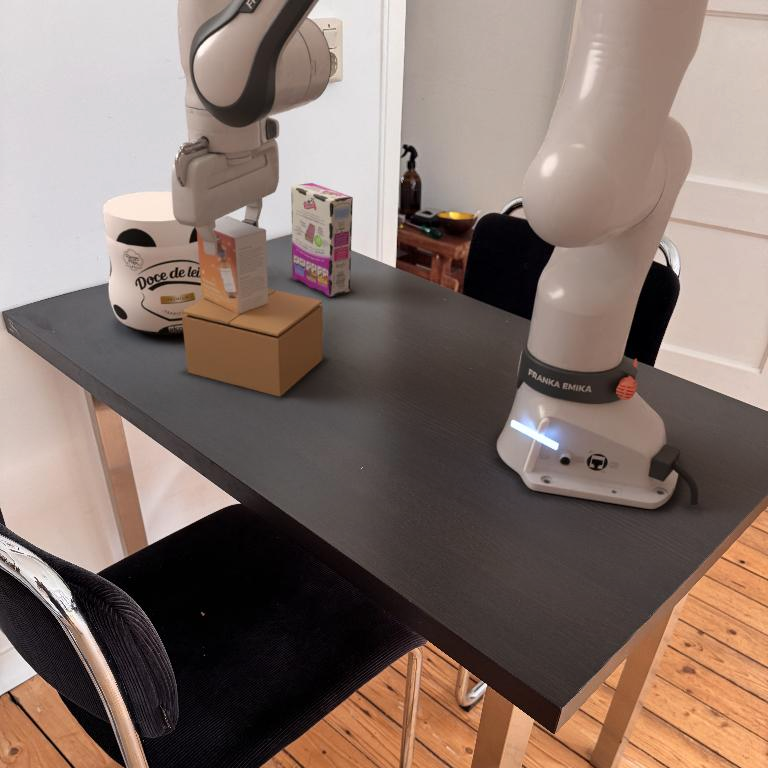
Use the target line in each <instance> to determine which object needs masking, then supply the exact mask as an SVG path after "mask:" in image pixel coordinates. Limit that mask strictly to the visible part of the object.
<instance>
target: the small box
mask: <svg viewBox="0 0 768 768" xmlns="http://www.w3.org/2000/svg"><path fill="white" fill-rule="evenodd" d="M215 224H216V228H214V229H213V230H214V233H215V235H216V238H218V239H221V247H222V250H221V252H219V253H218V254H216V255H209V254H206V253H205V252H204V246H203V240H202V238H201V237H200V235H199V233H198V232H197V239H198V252H199V265H200V278H201V291H202V297H203V298H206V299H208V300H210V301H213V302H215V303H217V304H219V305H221V306H223V307H225V308H227V309H229V310H231V311H233V312H235V313H237V314H241V313H244V312H246V311H249V310H252V309H255V308H258V307H261V306H263V305H266V304H268V289H269V288H268V284H269V283H268V252H267V251H268V249H267V247H268V246H267V230H266V229H265V228H262V227H259V228H258V227H255V226H253V225H250V224H247V223H244V222H242V220H239V219H236V218H234V217H232V216H230V215H225V216H223V217H221V218H219V219H217V220H215Z"/></svg>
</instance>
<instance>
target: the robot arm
mask: <svg viewBox="0 0 768 768" xmlns="http://www.w3.org/2000/svg"><path fill="white" fill-rule="evenodd" d="M319 1H320V0H178V1H177V37H178V38H177V39H178V48H179V49H178V51H179V60H180V65H181V68H182V70H183V71H182V72H183V74H184V78H185V84H186V85H185V87H186V88H185V96H184V109H185V118H186V127H187V138H188V141H187V142H183V143H182V144H181V145H179V150H178V151H177V153H176V155H175V156H174V162H173V164H172V167H171V168H172V169H171V192H172V206H173V215H174V217H175V219H176V220H177V222H178V223H179V224H182V225H187V226H192V227H196V230H197V232H198V233H199V235H200V237H201V238H202V240H203V246H204V252H205V253H206V254H209V255H216V254H218V253H219V252H221V250H222V247H221V239H218V238H216V235H215V233H214V230H213V229H214V228H216V224H215V220H217V219H219V218H221V217H224V216H228V215H230V214H231V213H234V212H236V211H238V210H240V209H243V208H244V207H245V213H244V219H242V220H241V221H242V222H244V223H247V224H250V225H253V226H255V227H258V228H260V226H259V220H260V216H261V212H262V208H263V199H264V198H266V197H268V196H270V195H272V194H274V193H276V191H277V189H278V185H279V182H280V181H279V180H280V153H279V146H278V142H277V140H276V139H278V137H279V136H280V122H279V120H278V119H276V118H273V117H271V116H276V115H280V114H283V113H286V112H289V111H291V110H295V109H298V108H301V107H305V106H307V105H309V104H310V103H312V102H314V101H315V100H318V99H319V98H320V97H321V96H322V95H323V94H324V92H325V90H326V89H327V87H328V84H329V82H330V78H331V73H332V56H331V50H330V45H329V43H328V40H327V38H326V36H325V34H324V33H323V31H322V30H321V29H322V28H320V27H319V26H318V24H317V23H316V22H315V21H313V20H312V19H311V18H309V15H310V14H311V13H312V12H313V10H314V8H315V7H316V6H317V4H318V2H319ZM708 4H709V0H581V4H580V10H579V17H578V24H577V30H576V35H575V40H574V44H573V48H572V52H571V56H570V59H569V63H568V67H567V70H566V73H565V75H564V79H563V82H562V86H561V89H560V90H559V91H560V92H559V94H558V97H557V99H556V103H555V106H554V110H553V113H552V115H551V119H550V122H549V125H548V128H547V131H546V134H545V137H544V139H543V141H542V144H541V146H540V148H539V150H538V152H537V154H536V155H535V157H534V158H533V160H532V161H531V163H530V164H529V166H528V168H527V170H526V172H525V175H524V177H523V182H522V187H521V203H522V209H523V213H524V215H525V218H526V220H527V221H526V222H528V225H529V226H530V228H531V229H532V230H533V232H534V233H535V234H536V235H537V236H538V237H539V238H540V239H541V240H543V241H544V242H546V243H548V244H549V245H552V246H554V249H553V251H552V253H551V256H550V258H549V260H548V262H547V263H546V265H545V266H544V268H543V269H542V272H541V274H540V276H539V279H538V282H537V286H536V292H535V299H534V302H533V303H534V304H533V309H532V315H531V321H530V325H529V326H530V327H529V332H528V338H527V339H526V341H525V343H523V346H522V349H521V352H520V357H519V362H518V367H517V373H516V388H517V389H516V394H515V397H514V399H513V400H514V401H513V403H512V407H511V410H510V413H509V414H508V416H507V417H508V418H507V420H506V422H505V424H504V427H503V429H502V431H501V432H500V434H499V436H498V438H497V441H496V451H497V454H498V456H499V457H500V459H501V461H503V462H504V463H505V464H506V465H507V466H508V467H510V468H511V469H512V470H513V471H514V472H516V473H517V474H518V475H519V476H520V478H521V479H522V481H523V483H524V485H525V486H526V487H527V488H528V489H530V490H532V491H535V492H539V493H547V494H552V495H558V496H564V497H571V498H578V499H584V500H590V501H597V502H603V503H610V504H616V505H620V506H621V505H622V506H627V507H633V508H639V509H646V510H647V509H648V510H655V509H657V508H660V507H662V506H664V505H665V504H666V503H667V502H668V501H669V500H670V499H671V497H672V496H673V495H674V493H675V490H676V486H677V483H678V477H679V476H680V478H682V479H683V480H684V481H685V483H686V484H687V485H688V488H689V492H690V493H689V494H690V495H689V498H690V499H689V500H690V501H689V502H690V503H689V504H690V506H693V507H694V506H698V505H699V489H698V485H697V483H696V482H695V480H694V478H693V477H692V475H690V474H689V472H687V470H685V469H684V468H683V467H682V466H681V465H679V463H678V461H679V458H680V456H681V453H682V450H681V449H680V448H677V447H674V446H671V445H669V444H667V433H666V426H665V422H664V420H663V419H662V417H661V416H660V415H659V413H657V411H655V410H654V408H652V407H651V406H650V405H649V404H648V403H647V402H646V401H645V400H644V399H643V398H642V396H640V395H639V393H638V392H637V391H636V390H637V387H638V383H637V377H638V372H639V371H638V359H637V358H634V360H633V362H631V361H630V360H629V358H628V357H627V356H626V355H625V350H626V346H627V341H628V339H629V334H630V331H631V327H632V323H633V320H634V315H635V312H636V308H637V305H638V301H639V297H640V294H641V292H642V289H643V286H644V283H645V281H646V279H647V275H648V273H649V271H650V269H651V267H652V265H653V262H654V259H655V258H656V255H657V252H658V249H659V247H660V244H661V243H662V240H663V237H664V234H665V232H666V229H667V227H668V224H669V222H670V220H671V219H670V218H671V215H672V213H673V210H674V209H675V205H676V202H677V199H678V197H679V194H680V192H681V189H682V188H683V186H684V184H685V182H686V180H687V178H688V176H689V173H690V171H691V168H692V161H693V147H692V143H691V139H690V136H689V134H688V132H687V131H686V129H685V128H684V126H683V125H682V124H681V123H680V122H679V121H678V120H677V119H675V118H674V117H673V116H670V112H671V109H672V107H673V105H674V101H675V99H676V97H677V94H678V91H679V88H680V86H681V83H682V81H683V79H684V77H685V74H686V72H687V70H688V68H689V66H690V64H691V62H692V61H693V59H694V57H695V56H696V53H697V50H698V48H699V44H700V40H701V35H702V31H703V26H704V24H705V23H704V22H705V18H706V13H707V9H708Z"/></svg>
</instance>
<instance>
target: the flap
mask: <svg viewBox="0 0 768 768" xmlns="http://www.w3.org/2000/svg"><path fill="white" fill-rule="evenodd" d="M322 304H323V300H320V299H316V298H311V297H308V296H302V295H298V294H293V293H288V292H284V291H280V290H276V292H274V293H273V294H271V295H270V296H268V304H266V305H263V306H261V307H258V308H255V309H252V310H249V311H246V312H244V313H243V314H241V315H240V316H238V317H237V318H235V319H234V320H232V321H231V322H229V324H230V325H232V326H236V327H240V328H244V329H248V330H253V331H257V332H261V333H265V334H270V335H274V336H279V335H280V334H282V333H283V332H284V331H286V330H287V329H288V328H290V327H291V326H292V325H294V324H295V323H296V322H298V321H299V320H300V319H302V318H303V317H304V316H306V315H307V314H308V313H309V312H311V311H312V310H313V309H315V308H316V307H317V306H319V305H320V306H321V305H322Z"/></svg>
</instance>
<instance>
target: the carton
mask: <svg viewBox="0 0 768 768" xmlns="http://www.w3.org/2000/svg"><path fill="white" fill-rule="evenodd" d="M276 291H277V290H275V289H270V288H268V296H270V295H271V294H273V293H274V292H276ZM182 314H185V315H184V316H182V323H183V332H184V333H183V339H184V340H183V341H184V348H185V349H184V350H185V359H186V367H187V373H188V374H191V375H196V376H199V377H204V378H207V379H211V380H214V381H217V382H222V383H226V384H230V385H234V386H237V387H242V388H245V389H248V390H252V391H253V390H254V391H257V392H260V393H264V394H267V395H272V396H276V397H279V398H280V397H282V396H283V395H284V394H285V393H287V391H288V390H290V389H291V388H292V387H293V386H294V385H295V384H296V383H298V382H299V381H300V380H301V379H302V378H303V377H304V376H306V375H307V374H308V373H309V372H311V370H313V369H314V368H315V367H316V366H317V365H318V364H319V363H320V362H322V361H323V305H321V304H320V305H319V306H317V307H316V308H315V309H313V310H312V311H311V312H309V313H308V314H307V315H306V316H304V317H303V318H302V319H300V320H299V321H298V322H296V323H295V324H294V325H292V326H291V327H290V328H288V329H287V330H286V331H284V332H283V333H282V334H280V335H279V336H274V335H270V334H265V333H261V332H257V331H253V330H248V329H244V328H240V327H236V326H232V325H230V324H229V322H231V321H232V320H234V319H235V318H237V317H238V316H240V315H241V314H243V313H241V314H237V313H235V312H233V311H231V310H229V309H227V308H225V307H223V306H221V305H219V304H217V303H215V302H213V301H210V300H208V299H206V298H203V299H201V300H200V301H198V302H196V303H195V304H193V305H191V306H190V307H188V308H186V309H184V310H183V311H182Z"/></svg>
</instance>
